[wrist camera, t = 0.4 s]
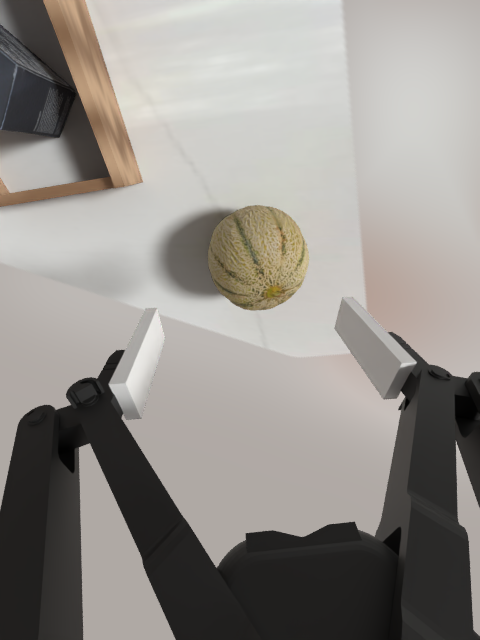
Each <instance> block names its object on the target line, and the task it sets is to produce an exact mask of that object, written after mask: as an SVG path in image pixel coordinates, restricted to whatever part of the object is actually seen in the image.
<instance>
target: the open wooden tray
mask: <svg viewBox="0 0 480 640" xmlns="http://www.w3.org/2000/svg"><path fill="white" fill-rule="evenodd" d="M43 1H44V4H45V7H46V9H47V12H48V15H49V17H50V20H51V22H52V25H53V28H54V30H55V33H56V35H57V38H58V41H59V43H60V46H61V48H62V51H63V54H64V56H65V59H66V62H67V64H68V67H69V69H70V72H71V75H72V77H73V80H74V82H75V85H76V88H77V90H78V93H79V96H80V98H81V101H82V103H83V106H84V109H85V111H86V114H87V116H88V119H89V122H90V124H91V127H92V129H93V132H94V135H95V137H96V140H97V143H98V145H99V148H100V150H101V153H102V156H103V158H104V161H105V163H106V166H107V169H108V171H109V174H110V176H111V177H105V178H99V179H93V180H87V181H81V182H75V183H69V184H63V185H57V186H51V187H45V188H39V189H33V190H27V191H21V192H15V193H9V191H8V190H7V188H6V186H5V185H4V183H3V182H2V180H1V178H0V207H1V206H7V205H13V204H20V203H26V202H32V201H38V200H44V199H50V198H56V197H62V196H68V195H74V194H80V193H86V192H92V191H98V190H104V189H110V188H118V187H124V186H129V185H133V184H137V183H141V182H143V181H142V177H141V174H140V171H139V168H138V165H137V162H136V159H135V156H134V152H133V149H132V146H131V143H130V140H129V137H128V134H127V131H126V127H125V124H124V121H123V118H122V115H121V112H120V109H119V106H118V102H117V99H116V96H115V93H114V90H113V87H112V84H111V81H110V77H109V74H108V71H107V68H106V65H105V62H104V59H103V56H102V52H101V49H100V46H99V43H98V40H97V37H96V34H95V31H94V27H93V24H92V21H91V18H90V15H89V12H88V9H87V6H86V2H85V0H43Z"/></svg>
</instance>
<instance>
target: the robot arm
mask: <svg viewBox="0 0 480 640" xmlns="http://www.w3.org/2000/svg"><path fill="white" fill-rule="evenodd" d="M335 330H336V331H337V333H338V334H339V336H340V337H341V339H342V340H343V342H344V343H345V344H346V346H347V347H348V349H349V350H350V352H351V353H352V355H353V356H354V357H355V359H356V360H357V362H358V363H359V365H360V366H361V368H362V369H363V370H364V372H365V373H366V375H367V376H368V378H369V379H370V380H371V382H372V384H373V385H374V386H375V388H376V389H377V391H378V392H379V393H380V395H381V397H382V398H383V399H395V398H397V397H398V395H399V393H400V391H402V393H403V394H404V395H405V398H404V400H403V402H402V404H401V405H400V407H399V409H398V410H401V415H400V420H399V426H398V431H397V437H396V442H395V447H394V453H393V459H392V464H391V470H390V475H389V481H388V486H387V491H386V497H385V502H384V508H383V513H382V518H381V522H380V525H379V527H378V530H377V531H376V535H375V537H374V536H372V535H370V534H368V533H365V532H363V531H360V530H358V529H357V526H356V524H355V522H349V523H340V524H330V525H327V526H325V527H323V528H321V529H319V530H317V531H315V532H313V533H311V534H309V535H307V536H305V537H299V536H294V535H290V534H286V533H282V532H277V531H263V532H254V533H246V540H245V541H243V542H241V543H239V544H238V545H237V546H235V547H234V548H233V549H231V550H230V552H228V554H227V555H226V556H225V557H224V558H223V559H222V561H221V562H220V564H219V566H218V567H217V568H216V567H215V565H214V564H213V562H212V561H211V559H210V557H209V556H208V554H207V553H206V551H205V549H204V548H203V546H202V545H201V543H200V541H199V540H198V538H197V537H196V535H195V534H194V532H193V530H192V529H191V527H190V526H189V524H188V523H187V521H186V520H185V519H184V518H183V516H182V515H181V513H180V512H179V510H178V508H177V507H176V505H175V504H174V502H173V500H172V499H171V497H170V495H169V494H168V492H167V491H166V489H165V487H164V486H163V485H162V483H161V481H160V479H159V478H158V476H157V475H156V473H155V472H154V470H153V468H152V467H151V465H150V463H149V462H148V460H147V459H146V457H145V455H144V454H143V453H142V451H141V449H140V448H139V446H138V444H137V443H136V441H135V440H134V438H133V437H132V435H131V433H130V432H129V430H128V428H127V427H126V425H125V424H124V422H123V420H122V419H121V417H122V415H123V414H124V416H125V418H126V420H131V419H141V418H142V414H143V411H144V408H145V404H146V401H147V398H148V394H149V391H150V388H151V384H152V381H153V377H154V374H155V371H156V368H157V364H158V361H159V358H160V354H161V351H162V348H163V344H164V341H165V337H164V333H163V329H162V325H161V322H160V318H159V314H158V310H157V308H149V309H145V311H144V314H143V315H142V317H141V319H140V321H139V323H138V326H137V327H136V330H135V332H134V334H133V336H132V338H131V340H130V342H129V344H128V346H127V348H126V350H116V351H115V352H114V353H113V354H112V355H111V356H110V357H109V359H108V360H107V362H106V365H105V366H104V368H103V371H101V373H100V375H99V376H98V378H97V379H96V378H92V377H91V378H84V379H82V380H79V381H78V382H76V383H74V384H73V385H72V386H71V387H70V388H69V389H68V391H67V393H66V397H67V399H68V400H69V402H70V403H71V405H70V406H67V407H64V408H61V409H58V410H55V408H54V407H52V406H51V405H43V406H39V407H37V408H35V409H32V410H31V411H30V412H28V413H27V414H25V415H24V416H23V418H22V419H21V420H20V422H19V424H18V428H17V432H16V437H15V442H14V447H13V452H12V456H11V461H10V466H9V471H8V476H7V481H6V485H5V490H4V495H3V500H2V505H1V510H0V640H83V615H82V613H83V611H82V571H81V570H82V569H81V527H80V526H81V525H80V483H79V447H81V446H83V445H86V444H89V443H90V444H91V446H92V449H93V451H94V453H95V455H96V458H97V460H98V462H99V464H100V466H101V469H102V471H103V473H104V475H105V477H106V479H107V482H108V484H109V486H110V488H111V491H112V493H113V495H114V497H115V499H116V501H117V504H118V506H119V508H120V510H121V512H122V514H123V517H124V519H125V521H126V523H127V525H128V528H129V530H130V532H131V534H132V537H133V539H134V541H135V543H136V545H137V548H138V550H139V552H140V554H141V557H142V560H143V565H144V569H145V571H146V574H147V576H148V578H149V581H150V583H151V585H152V587H153V590H154V592H155V594H156V596H157V599H158V601H159V603H160V605H161V607H162V610H163V612H164V614H165V616H166V619H167V621H168V623H169V625H170V628H171V630H172V632H173V634H174V637H175V639H176V640H480V636H479V635H478V634H477V633H476V632H475V631H474V630H473V616H472V597H471V578H470V559H469V541H468V535H467V532H466V530H465V528H464V527H462V526H461V525H459V522H458V518H457V517H458V516H457V477H456V441H457V445H458V447H459V450H460V453H461V456H462V458H463V462H464V464H465V467H466V470H467V473H468V476H469V479H470V482H471V484H472V487H473V490H474V493H475V496H476V499H477V501H478V504H479V507H480V372H474V373H472V374H471V375H470V376H469V378H461V377H455V376H452V375H451V374H450V373H449V372H448V371H446V370H445V369H443V368H441V367H438V366H435V365H429V364H428V363H427V362H425V360H423V358H422V357H420V356H419V355H418V354H417V353H416V352H415V351H414V350H413V349H411V347H410V346H409V345H408V344H406V342H405V341H404V340H403V339H402V338H401V337H399V336H398V335H396V334H394V333H393V332H387V331H386V330H385V329H384V328H383V327H382V326H381V325H380V324H379V323H378V322H377V321H376V320H375V319H374V318H373V317H372V316H371V315H370V314H369V313H368V312H367V311H366V310H365V309H364V308H363V307H362V306H361V305H360V304H359V303H358V302H357V301H356V300H355V299H354V298H353V297H342V301H341V305H340V309H339V312H338V316H337V320H336V324H335Z"/></svg>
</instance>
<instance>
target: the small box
mask: <svg viewBox="0 0 480 640" xmlns="http://www.w3.org/2000/svg"><path fill="white" fill-rule="evenodd" d="M75 96H76V91H75V90H74V89H73V88H72V87H71V86H69V85H68V84H67V83H66V82H65V81H64V80H63V79H62V78H61V77H59V76H58V75H57V74H56V73H55V72H54V71H53V70H51V69H50V68H49V67H48V66H47V65H46V64H45V63H44V62H42V61H41V60H40V59H39V58H38V57H37V56H36V55H34V54H33V53H32V52H31V51H30V50H29V49H28V48H27V47H25V46H24V45H23V44H22V43H21V42H20V41H19V40H18V39H17V38H15V37H14V36H13V35H12V34H11V33H9V32H8V31H7V30H6V29H5V28H4V27H3V26H2V25H0V130H7V131H15V132H22V133H30V134H37V135H45V136H51V137H58V138H59V137H60V135H61V132H62V130H63V127H64V124H65V122H66V119H67V117H68V114H69V111H70V109H71V106H72V104H73V101H74V98H75Z"/></svg>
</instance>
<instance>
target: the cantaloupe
mask: <svg viewBox="0 0 480 640" xmlns="http://www.w3.org/2000/svg"><path fill="white" fill-rule="evenodd" d="M308 264H309V256H308V249H307V244H306V243H305V240H304V238H303V236H302V234H301V231H300V228H299V227H298V225H297V224H296V223H295V221H294V220H293V219H292V218H291V217H290V216H289V215H287V214H286V213H284V212H283V211H281V210H278V209H276V208H273V207H265V206H260V205H255V206H247V207H245V208H242V209H240V210H237V211H235V212H234V213H232V214H230V215H228V216H227V217H225V218H224V219H223V220H222V221H221V222H220V223H219V224H218V225H217V227H216V228H215V230H214V232H213V234H212V238H211V243H210V246H209V250H208V266H209V270H210V272H211V275H212V279H213V282H214V284H215V285H216V287H217V288H218V290H219V291H220V293H221V294H222V295H223V296H225V297H226V298H227V299H229V300H230V301H231V302H232V303H233V304H235V305H236V306H239V307H241V308H243V309H247V310H266V309H271V308H273V307H275V306H277V305H279V304H281V303H283V302H285V301H287V300H288V299H289V298H290V297H291V296H292V295H293V294H294V293H295V292H296V291H297V290H298V289H299V288H300V287H301V285H302V283H303V280H304V277H305V274H306V272H307V268H308Z"/></svg>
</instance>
